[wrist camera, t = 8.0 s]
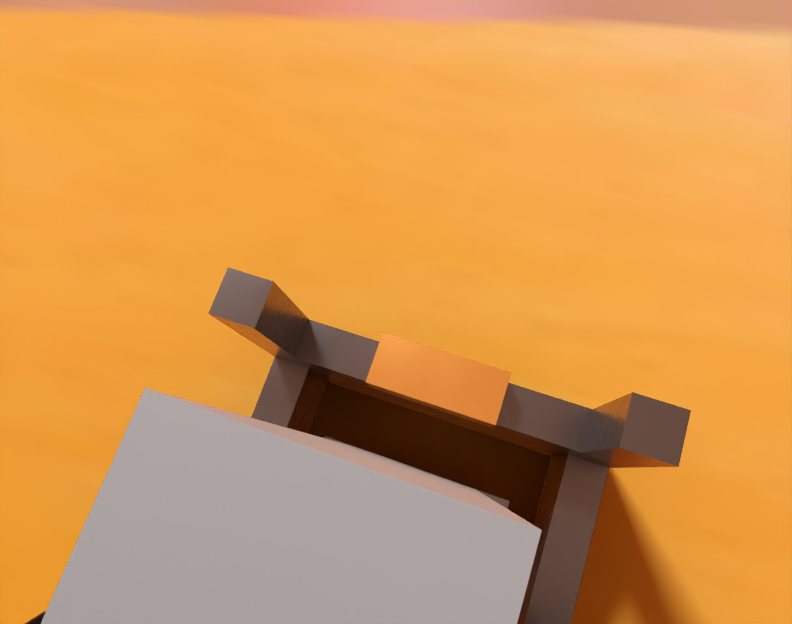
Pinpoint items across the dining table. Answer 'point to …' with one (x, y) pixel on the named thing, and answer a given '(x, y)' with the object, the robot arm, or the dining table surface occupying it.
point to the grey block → (284, 532)
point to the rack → (462, 419)
